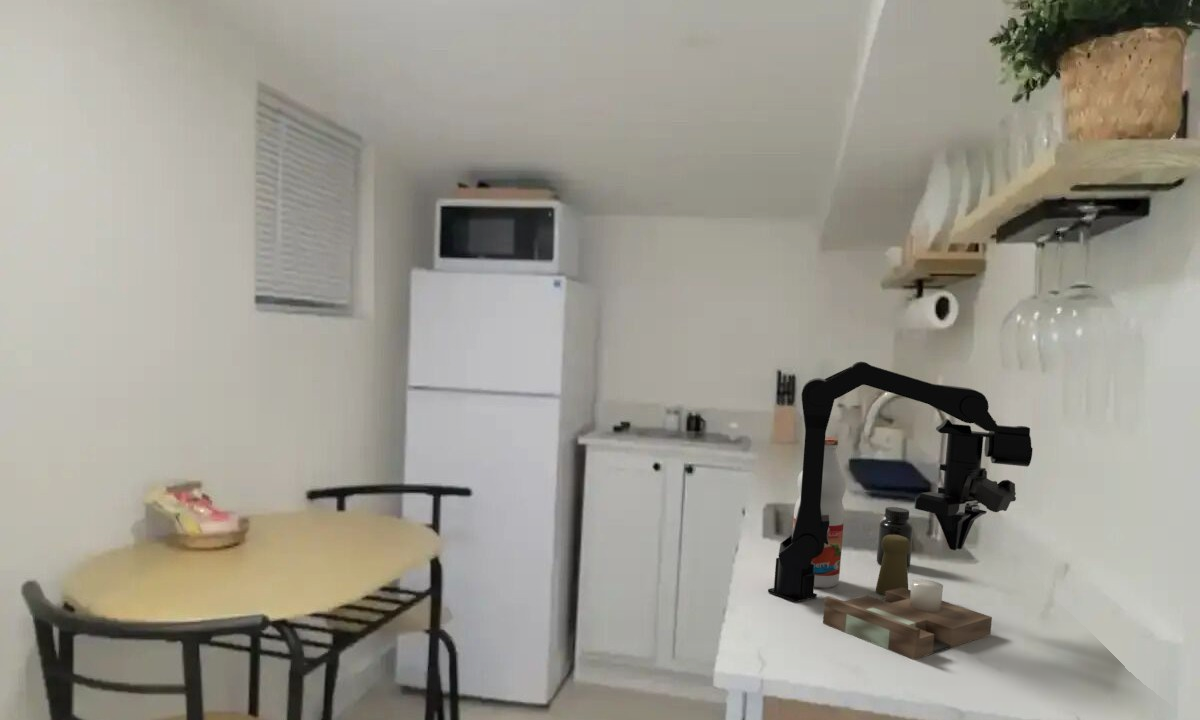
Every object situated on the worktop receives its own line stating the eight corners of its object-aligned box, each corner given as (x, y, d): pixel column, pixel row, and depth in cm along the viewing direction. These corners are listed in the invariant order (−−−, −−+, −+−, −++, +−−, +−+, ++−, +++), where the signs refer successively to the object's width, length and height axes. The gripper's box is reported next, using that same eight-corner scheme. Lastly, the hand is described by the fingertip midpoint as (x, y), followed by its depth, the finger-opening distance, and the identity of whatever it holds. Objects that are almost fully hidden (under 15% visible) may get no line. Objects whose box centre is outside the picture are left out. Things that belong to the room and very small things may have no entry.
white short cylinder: (903, 604, 146) (905, 581, 146) (920, 600, 149) (922, 577, 149) (930, 613, 142) (932, 589, 142) (946, 609, 146) (948, 585, 145)
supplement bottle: (872, 559, 186) (876, 504, 186) (904, 561, 186) (908, 506, 186) (881, 568, 180) (886, 511, 179) (914, 570, 179) (919, 514, 179)
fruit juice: (835, 576, 171) (846, 436, 170) (841, 591, 162) (853, 443, 161) (787, 571, 173) (797, 432, 171) (790, 585, 163) (802, 439, 162)
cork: (911, 600, 159) (916, 541, 158) (877, 596, 160) (881, 537, 160) (906, 590, 165) (911, 534, 164) (873, 586, 166) (878, 530, 166)
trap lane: (822, 623, 143) (824, 596, 143) (900, 603, 157) (902, 579, 156) (913, 659, 130) (916, 630, 129) (990, 634, 143) (992, 608, 143)
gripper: (978, 472, 138) (970, 568, 138) (1036, 465, 149) (1028, 555, 150) (916, 460, 146) (909, 550, 147) (975, 455, 158) (967, 539, 158)
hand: (955, 549), depth 150 cm, fingers closed
